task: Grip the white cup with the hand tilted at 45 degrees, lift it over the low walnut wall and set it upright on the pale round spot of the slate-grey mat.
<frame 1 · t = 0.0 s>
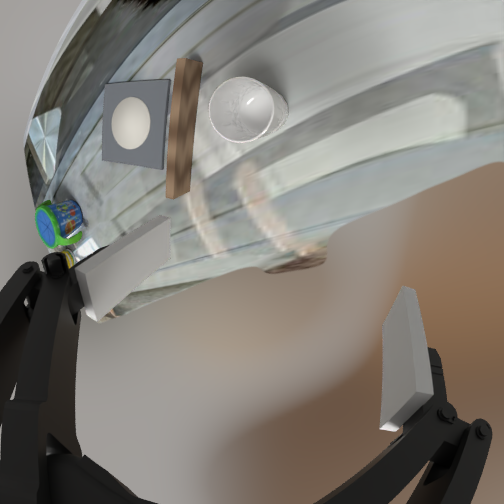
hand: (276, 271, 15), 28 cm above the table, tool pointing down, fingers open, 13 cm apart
slate mat: (132, 122, 45), on the table
supplement bottle: (71, 256, 70), on the table
low wall: (190, 127, 42), on the table
white cup: (266, 111, 37), on the table
snack cup: (75, 212, 61), on the table
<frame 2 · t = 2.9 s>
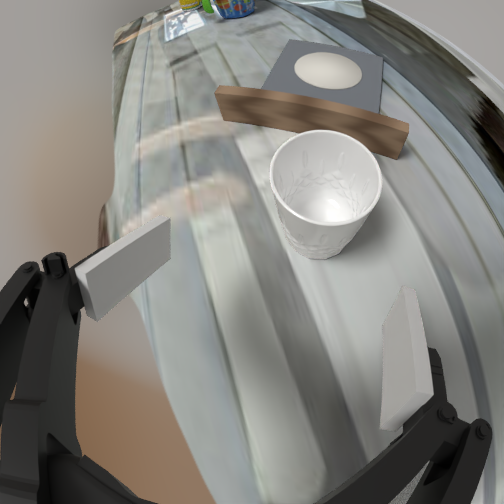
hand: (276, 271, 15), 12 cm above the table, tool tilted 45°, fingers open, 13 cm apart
slate mat: (328, 72, 34), on the table
supplement bottle: (192, 8, 50), on the table
low wall: (309, 130, 31), on the table
white cup: (317, 228, 28), on the table
snack cup: (238, 13, 45), on the table
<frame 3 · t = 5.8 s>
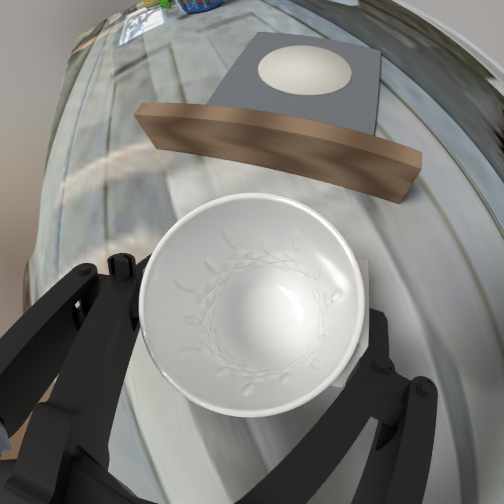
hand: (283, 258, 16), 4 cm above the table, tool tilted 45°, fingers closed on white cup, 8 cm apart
slate mat: (305, 72, 26), on the table
supplement bottle: (158, 5, 41), on the table
low wall: (269, 160, 22), on the table
white cup: (269, 320, 19), on the table, touching gripper
snack cup: (204, 7, 36), on the table
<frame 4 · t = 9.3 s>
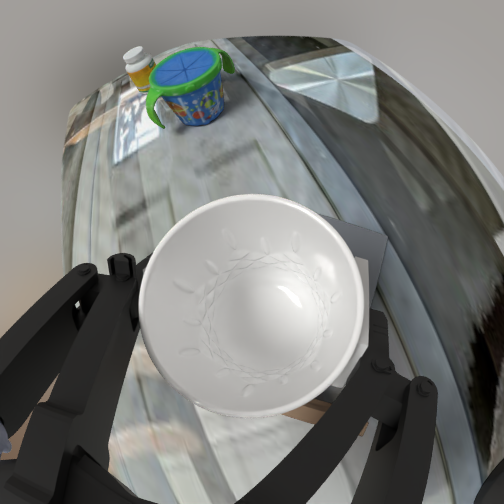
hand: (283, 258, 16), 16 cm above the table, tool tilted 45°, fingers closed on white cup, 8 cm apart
slate mat: (305, 280, 32), on the table
supplement bottle: (152, 86, 47), on the table
low wall: (264, 388, 29), on the table
white cup: (269, 321, 19), point 12 cm above the table, touching gripper
snack cup: (202, 112, 42), on the table
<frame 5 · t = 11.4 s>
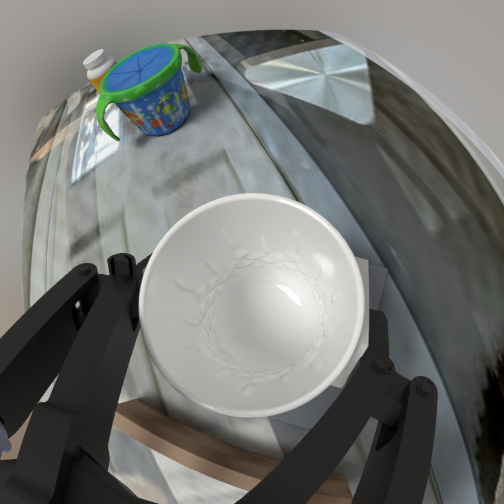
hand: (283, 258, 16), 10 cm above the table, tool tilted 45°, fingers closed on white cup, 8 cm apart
slate mat: (280, 328, 25), on the table
supplement bottle: (117, 93, 40), on the table
low wall: (232, 452, 21), on the table
white cup: (269, 321, 19), point 6 cm above the table, touching gripper
snack cup: (166, 119, 35), on the table
when the fingers open (5 cm above the table, at t = 12.9 s): white cup drops 1 cm, resting on slate mat.
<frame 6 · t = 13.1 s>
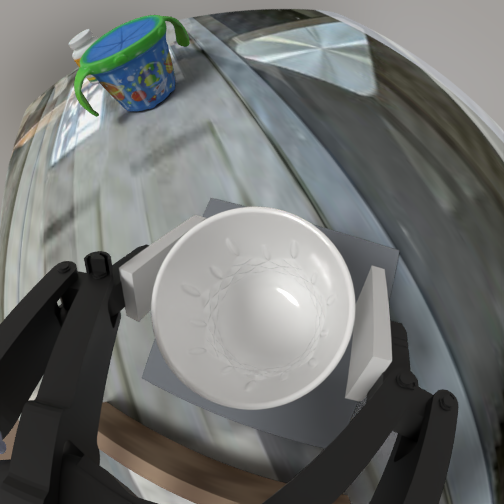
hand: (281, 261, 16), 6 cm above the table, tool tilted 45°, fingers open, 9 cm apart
slate mat: (271, 322, 20), on the table
supplement bottle: (104, 75, 36), on the table
low wall: (215, 467, 17), on the table
white cup: (270, 322, 20), point 1 cm above the table, touching slate mat
snack cup: (151, 95, 31), on the table
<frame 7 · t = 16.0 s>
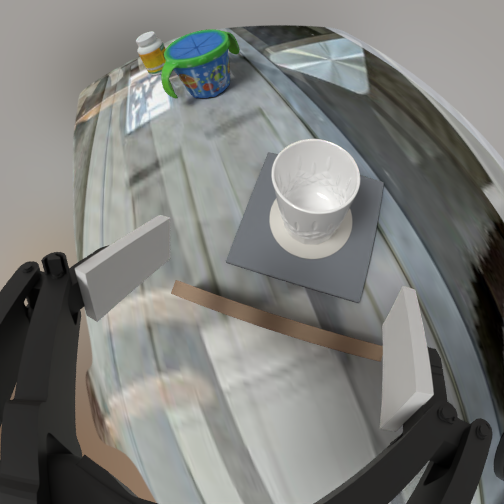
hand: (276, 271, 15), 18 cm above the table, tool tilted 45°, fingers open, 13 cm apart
slate mat: (311, 220, 34), on the table
supplement bottle: (161, 69, 49), on the table
low wall: (277, 325, 31), on the table
white cup: (311, 219, 33), point 1 cm above the table, touching slate mat
snack cup: (210, 87, 44), on the table
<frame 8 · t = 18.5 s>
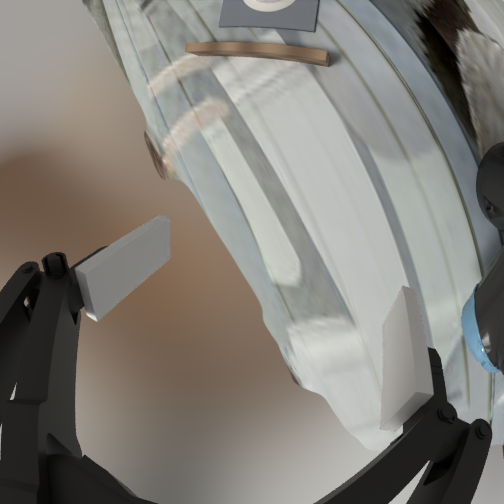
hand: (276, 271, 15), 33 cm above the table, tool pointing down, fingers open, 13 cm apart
low wall: (260, 53, 37), on the table
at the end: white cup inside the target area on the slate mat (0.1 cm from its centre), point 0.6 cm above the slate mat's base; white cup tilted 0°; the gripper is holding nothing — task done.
